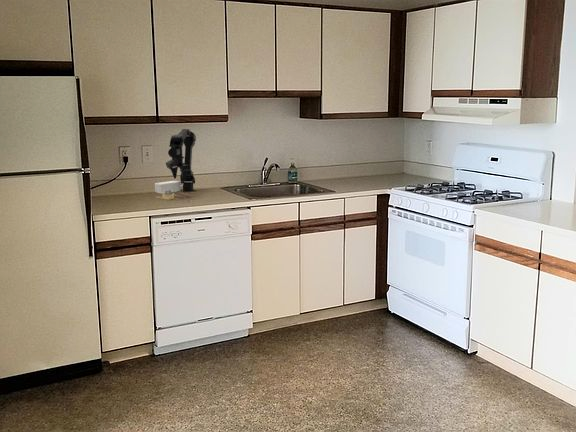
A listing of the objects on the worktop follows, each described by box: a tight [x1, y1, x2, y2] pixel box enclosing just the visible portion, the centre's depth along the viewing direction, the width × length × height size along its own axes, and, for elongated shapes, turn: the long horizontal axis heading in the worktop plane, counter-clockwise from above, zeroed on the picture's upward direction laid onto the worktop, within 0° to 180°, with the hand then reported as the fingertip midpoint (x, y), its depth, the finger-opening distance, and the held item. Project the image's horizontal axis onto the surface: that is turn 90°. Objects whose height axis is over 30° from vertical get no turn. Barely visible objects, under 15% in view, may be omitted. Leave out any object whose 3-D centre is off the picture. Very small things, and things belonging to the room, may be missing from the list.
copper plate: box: [156, 192, 194, 201], centre depth 372 cm, size 20×16×1 cm
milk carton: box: [154, 180, 183, 195], centre depth 391 cm, size 7×7×19 cm
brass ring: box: [161, 192, 176, 201], centre depth 365 cm, size 7×7×3 cm
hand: (179, 179), depth 373 cm, fingers open, 9 cm apart
